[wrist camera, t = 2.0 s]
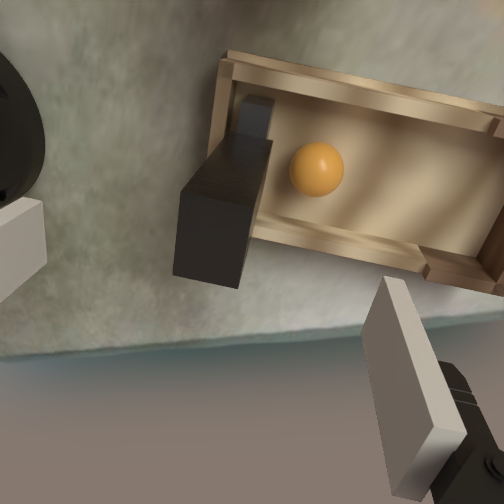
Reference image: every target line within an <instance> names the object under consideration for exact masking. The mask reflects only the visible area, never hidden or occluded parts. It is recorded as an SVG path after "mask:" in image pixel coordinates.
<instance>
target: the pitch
mask: <svg viewBox="0 0 504 504" xmlns="http://www.w3.org/2000/svg"><path fill="white" fill-rule="evenodd" d="M248 94H253V95H257V96H262V97H267V98H272V99H276V101H275V106H274V111H273V116H272V121H271V126H270V131H269V136H268V139H269V140H273V145H272V150H271V155H270V160H269V164H268V169H267V174H266V179H265V184H264V189H263V194H262V198H261V202H260V206H259V210H258V213H257V217H256V221H255V225H254V229H253V233H252V237H255V238H260V239H264V240H269V241H274V242H278V243H283V244H287V245H292V246H297V247H301V248H306V249H311V250H315V251H320V252H325V253H329V254H334V255H339V256H343V257H348V258H353V259H357V260H362V261H367V262H371V263H376V264H381V265H385V266H390V267H395V268H399V269H404V270H409V271H413V272H418V273H422V274H423V276H424V278H425V280H427V281H432V282H437V283H441V284H446V285H450V286H455V287H460V288H464V289H469V290H474V291H478V292H483V293H488V294H492V295H497V296H502V297H503V296H504V107H502V106H497V105H492V104H488V103H483V102H478V101H473V100H468V99H464V98H459V97H454V96H449V95H445V94H440V93H435V92H430V91H425V90H421V89H416V88H411V87H406V86H402V85H397V84H392V83H387V82H382V81H378V80H373V79H368V78H363V77H359V76H354V75H349V74H344V73H339V72H335V71H330V70H325V69H320V68H316V67H311V66H306V65H301V64H296V63H292V62H287V61H282V60H277V59H273V58H268V57H263V56H258V55H253V54H249V53H244V52H239V51H234V50H228V54H227V58H224V59H220V60H219V66H218V74H217V82H216V89H215V97H214V105H213V113H212V121H211V128H210V136H209V144H208V152H207V158H208V157H209V156H210V154H211V153H212V152H213V151H214V149H215V148H216V147H217V146H218V144H219V143H220V142H221V141H222V139H223V138H224V137H225V136H226V134H227V133H228V132H229V131H231V132H236V133H237V126H238V120H239V114H240V108H241V102H242V100H243V99H244V98H245V97H246V96H247V95H248ZM312 142H323V143H327V144H329V145H331V146H333V147H334V148H335V149H336V150H337V151H338V152H339V153H340V155H341V157H342V159H343V162H344V175H343V178H342V181H341V183H340V184H339V186H338V187H337V188H336V189H335V190H334V191H333V192H331V193H330V194H328V195H326V196H322V197H309V196H306V195H304V194H302V193H300V192H299V191H298V190H297V189H296V188H295V187H294V185H293V183H292V181H291V179H290V174H289V167H290V162H291V159H292V157H293V156H294V154H295V153H296V151H297V150H298V149H300V148H301V147H302V146H304V145H306V144H308V143H312Z"/></svg>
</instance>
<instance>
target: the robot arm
mask: <svg viewBox="0 0 504 504" xmlns="http://www.w3.org/2000/svg"><path fill="white" fill-rule="evenodd" d="M44 153H45V137H44V129H43V124H42V120H41V116H40V113H39V110H38V108H37V105H36V102H35V100H34V98H33V96H32V94H31V92H30V90H29V88H28V87H27V85H26V83H25V82H24V80H23V79H22V77H21V76H20V74H19V73H18V71H17V70H16V69H15V68H14V66H13V65H12V64H11V63H10V62H9V61H8V59H7V58H6V57H5V56H4V55H3V54H2V53H1V52H0V207H1V206H3V205H5V204H7V203H9V202H11V201H12V200H14V199H16V198H18V197H20V196H21V195H23V194H24V193H25V192H26V191H27V190H28V189H29V188H30V187H31V186H32V185H33V184H34V182H35V181H36V179H37V177H38V175H39V173H40V171H41V168H42V164H43V160H44ZM46 263H47V253H46V240H45V227H44V214H43V201H40V200H35V199H31V198H26V197H22V198H20V199H18V200H16V201H14V202H13V203H11V204H9V205H7V206H5V207H3V208H2V209H0V303H1V302H2V301H3V300H5V299H6V298H7V297H8V296H9V295H10V294H12V293H13V292H14V291H15V290H16V289H17V288H19V287H20V286H21V285H22V284H23V283H24V282H26V281H27V280H28V279H29V278H30V277H31V276H33V275H34V274H35V273H36V272H37V271H38V270H40V269H41V268H42V267H43V266H44V265H45V264H46ZM361 336H362V341H363V346H364V352H365V357H366V361H367V367H368V372H369V378H370V383H371V388H372V394H373V399H374V404H375V409H376V415H377V420H378V425H379V430H380V435H381V440H382V446H383V451H384V456H385V462H386V467H387V472H388V477H389V483H390V488H391V493H392V495H393V496H397V497H401V498H406V499H410V500H414V501H418V502H421V501H422V500H423V498H424V497H425V495H426V494H427V492H428V491H429V489H431V493H432V497H433V500H434V504H504V452H503V451H501V450H500V449H499V448H498V446H497V444H496V442H495V440H494V438H493V436H492V434H491V431H490V429H489V428H488V425H487V423H486V421H485V419H484V417H483V415H482V413H481V411H480V408H479V407H477V402H476V400H475V398H474V396H473V395H472V394H471V393H472V391H471V390H470V387H469V385H468V383H467V381H466V379H465V377H464V376H463V375H462V374H461V373H460V372H459V371H458V369H457V368H456V367H455V366H454V365H453V364H451V363H447V362H442V361H438V360H437V359H436V357H435V354H434V352H433V349H432V347H431V344H430V342H429V340H428V337H427V335H426V332H425V330H424V327H423V325H422V323H421V320H420V318H419V315H418V313H417V310H416V308H415V306H414V303H413V301H412V298H411V296H410V294H409V291H408V289H407V286H406V284H405V281H404V280H402V279H397V278H393V277H388V276H383V278H382V281H381V283H380V286H379V288H378V291H377V293H376V296H375V298H374V301H373V303H372V306H371V308H370V311H369V313H368V315H367V318H366V320H365V323H364V325H363V328H362V330H361Z"/></svg>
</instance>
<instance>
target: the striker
mask: <svg viewBox="0 0 504 504" xmlns="http://www.w3.org/2000/svg"><path fill="white" fill-rule="evenodd" d="M275 101H276V99H272V98H267V97H262V96H257V95H253V94H248V95H247V96H246V97H245V98H244V99H243V100H242V102H241V108H240V114H239V120H238V126H237V133H236V132H231V131H229V132H228V133H227V134H226V136H225V137H224V138H223V139H222V141H221V142H220V143H219V144H218V146H217V147H216V148H215V149H214V151H213V152H212V153H211V154H210V156H209V157H208V158H207V159H206V161H205V162H204V163H203V165H202V166H201V167H200V168H199V170H198V171H197V172H196V173H195V175H194V176H193V177H192V178H191V180H190V181H189V182H188V183H187V185H186V186H185V187H184V188H183V190H182V191H181V195H180V205H179V215H178V225H177V235H176V245H175V254H174V264H173V274H172V275H175V276H179V277H184V278H189V279H193V280H198V281H202V282H207V283H212V284H216V285H221V286H226V287H230V288H235V289H238V287H239V283H240V279H241V275H242V272H243V268H244V264H245V260H246V256H247V252H248V248H249V244H250V241H251V237H252V233H253V229H254V225H255V221H256V217H257V213H258V210H259V206H260V202H261V198H262V194H263V189H264V184H265V179H266V174H267V169H268V164H269V160H270V155H271V150H272V145H273V140H269V139H268V136H269V131H270V126H271V121H272V116H273V111H274V106H275Z"/></svg>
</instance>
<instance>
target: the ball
mask: <svg viewBox="0 0 504 504" xmlns="http://www.w3.org/2000/svg"><path fill="white" fill-rule="evenodd" d="M289 174H290V179H291V181H292V183H293V185H294V187H295V188H296V189H297V190H298V191H299V192H300V193H302V194H304V195H306V196H309V197H322V196H326V195H328V194H330V193H331V192H333V191H334V190H335V189H336V188H337V187H338V186H339V184H340V183H341V181H342V178H343V175H344V162H343V159H342V157H341V155H340V153H339V152H338V151H337V150H336V149H335V148H334V147H333V146H331V145H329V144H327V143H323V142H312V143H308V144H306V145H304V146H302V147H301V148H300V149H298V150H297V151H296V153H295V154H294V156H293V157H292V159H291V162H290V167H289Z"/></svg>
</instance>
